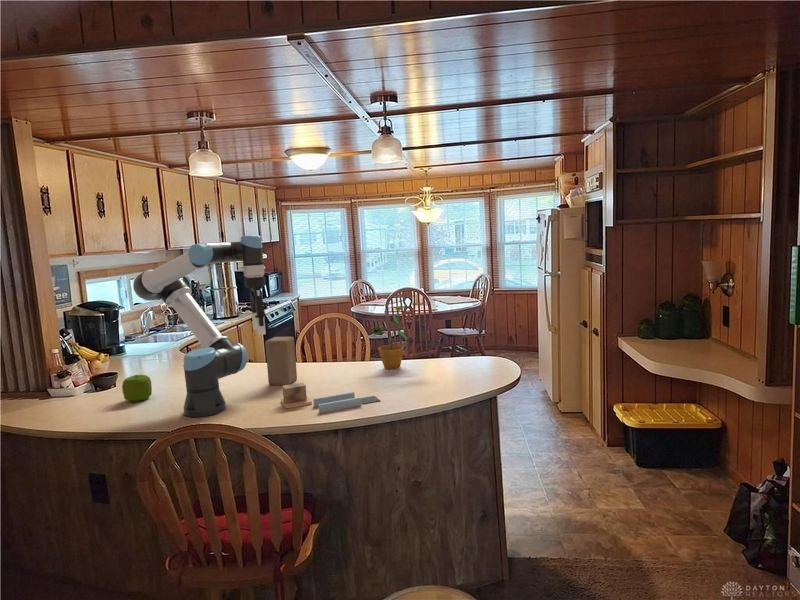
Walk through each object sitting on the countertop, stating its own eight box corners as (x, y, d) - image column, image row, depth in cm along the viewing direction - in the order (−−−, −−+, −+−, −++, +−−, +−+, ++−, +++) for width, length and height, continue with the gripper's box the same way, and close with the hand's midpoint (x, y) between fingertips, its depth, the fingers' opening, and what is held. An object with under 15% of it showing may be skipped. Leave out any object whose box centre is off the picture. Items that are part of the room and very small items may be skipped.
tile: (285, 408, 199) (285, 406, 199) (281, 401, 208) (280, 399, 208) (311, 404, 203) (311, 401, 203) (306, 397, 212) (306, 394, 212)
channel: (319, 413, 192) (319, 405, 192) (313, 406, 200) (313, 398, 200) (361, 405, 198) (360, 397, 198) (354, 399, 206) (353, 391, 206)
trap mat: (363, 404, 199) (363, 403, 199) (357, 399, 206) (357, 398, 206) (380, 401, 202) (380, 400, 202) (374, 396, 208) (374, 395, 208)
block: (286, 404, 202) (284, 388, 201) (283, 400, 206) (282, 385, 205) (306, 400, 205) (305, 385, 204) (303, 397, 209) (302, 382, 208)
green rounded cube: (126, 398, 225) (122, 373, 224) (153, 394, 229) (150, 369, 228) (122, 405, 215) (119, 379, 214) (151, 401, 219) (148, 375, 217)
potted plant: (417, 364, 256) (414, 303, 252) (398, 374, 240) (394, 308, 236) (386, 361, 265) (383, 302, 261) (365, 370, 249) (361, 307, 245)
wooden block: (289, 385, 231) (285, 340, 228) (267, 385, 233) (264, 340, 231) (298, 379, 241) (294, 336, 238) (277, 379, 243) (274, 336, 240)
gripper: (269, 277, 190) (274, 335, 192) (260, 274, 212) (264, 326, 215) (248, 279, 187) (253, 338, 189) (240, 275, 210) (245, 328, 212)
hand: (259, 331), depth 202 cm, fingers open, 13 cm apart
